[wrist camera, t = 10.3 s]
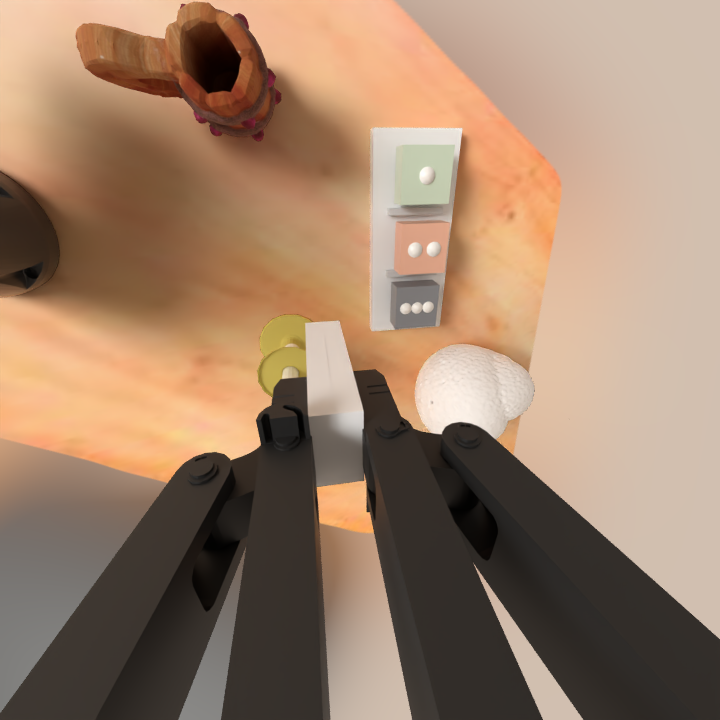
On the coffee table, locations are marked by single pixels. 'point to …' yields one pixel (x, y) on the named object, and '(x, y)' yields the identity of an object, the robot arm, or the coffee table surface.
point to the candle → (282, 351)
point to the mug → (191, 67)
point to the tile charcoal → (414, 303)
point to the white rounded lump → (471, 389)
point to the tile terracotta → (421, 246)
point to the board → (400, 214)
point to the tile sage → (423, 174)
